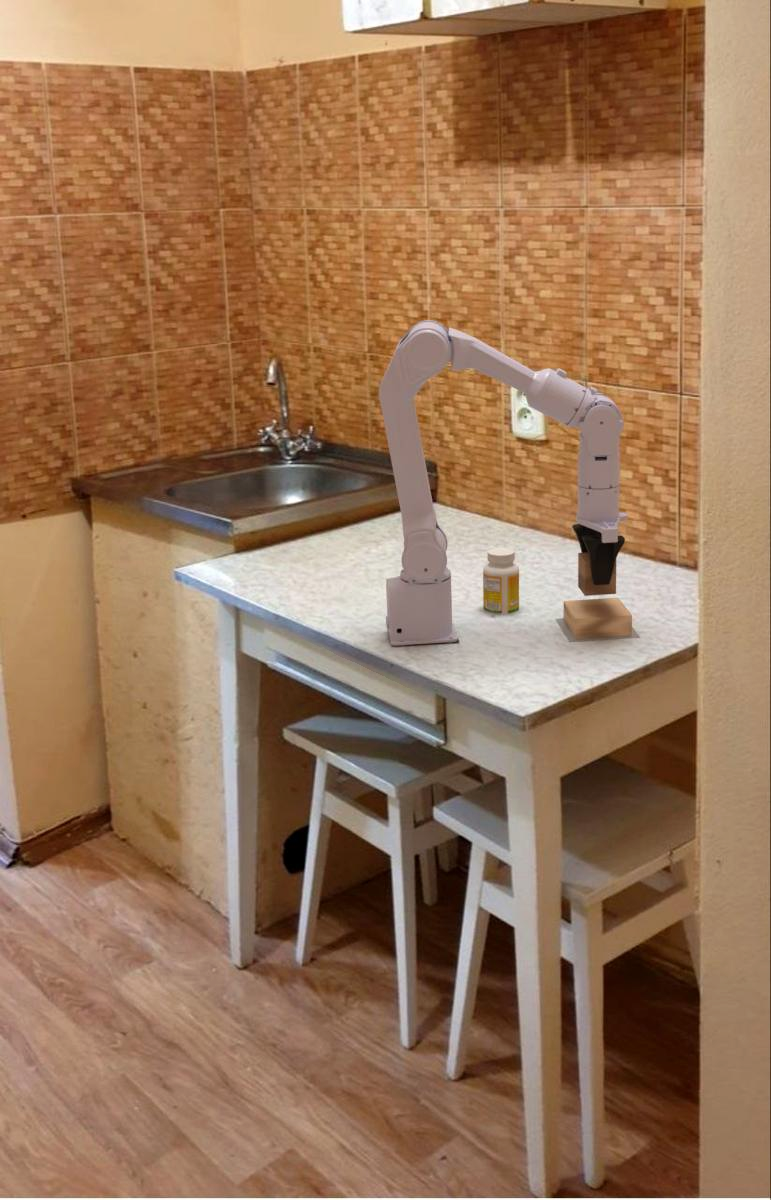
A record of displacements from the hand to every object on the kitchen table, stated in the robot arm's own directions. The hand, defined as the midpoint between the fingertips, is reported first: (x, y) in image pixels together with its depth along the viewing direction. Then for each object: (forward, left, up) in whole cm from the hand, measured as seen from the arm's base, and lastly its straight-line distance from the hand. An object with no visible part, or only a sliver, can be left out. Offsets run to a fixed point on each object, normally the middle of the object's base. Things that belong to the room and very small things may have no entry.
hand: (597, 578), depth 182 cm
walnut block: (0, 0, -2) cm, 2 cm away
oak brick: (0, 0, -7) cm, 7 cm away
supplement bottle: (-12, +11, -8) cm, 18 cm away
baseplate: (0, 0, -8) cm, 8 cm away
